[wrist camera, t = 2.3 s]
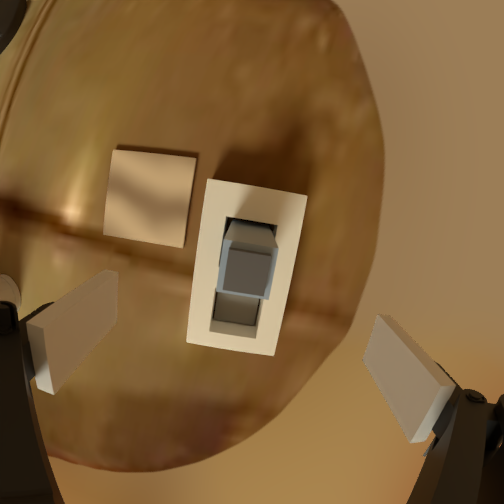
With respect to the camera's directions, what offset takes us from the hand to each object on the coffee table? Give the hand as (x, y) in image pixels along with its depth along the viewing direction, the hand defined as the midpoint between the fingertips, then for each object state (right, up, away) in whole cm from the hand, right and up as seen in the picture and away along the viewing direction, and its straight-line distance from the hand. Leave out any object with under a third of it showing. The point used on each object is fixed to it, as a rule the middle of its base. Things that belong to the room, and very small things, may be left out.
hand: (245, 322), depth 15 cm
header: (-1, +2, +21) cm, 21 cm away
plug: (0, +5, +21) cm, 21 cm away
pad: (-11, +10, +19) cm, 24 cm away
